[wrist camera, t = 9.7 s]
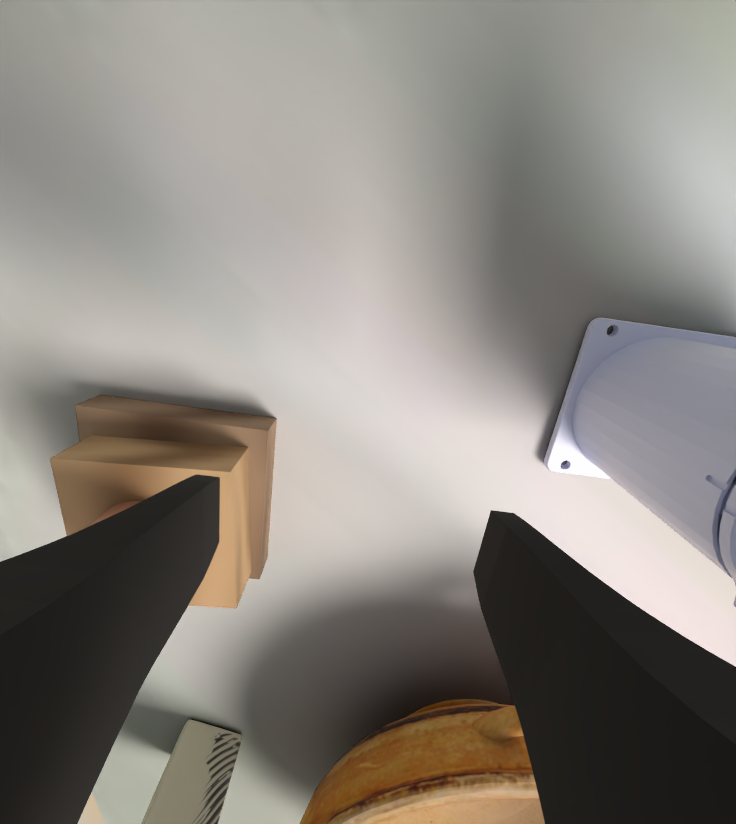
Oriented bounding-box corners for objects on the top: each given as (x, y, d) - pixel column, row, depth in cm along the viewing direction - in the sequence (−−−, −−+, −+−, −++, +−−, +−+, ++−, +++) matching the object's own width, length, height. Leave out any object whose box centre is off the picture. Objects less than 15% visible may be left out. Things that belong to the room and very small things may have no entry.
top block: (248, 447, 18) (230, 472, 16) (251, 571, 21) (236, 608, 18) (91, 435, 18) (50, 458, 16) (113, 561, 21) (80, 598, 18)
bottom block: (279, 413, 20) (268, 430, 18) (270, 548, 23) (259, 579, 21) (109, 390, 20) (74, 405, 18) (122, 531, 23) (93, 560, 21)
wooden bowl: (345, 564, 23) (333, 706, 15) (709, 635, 24) (860, 793, 17) (272, 835, 32) (242, 1004, 25) (537, 872, 34) (585, 1040, 27)
